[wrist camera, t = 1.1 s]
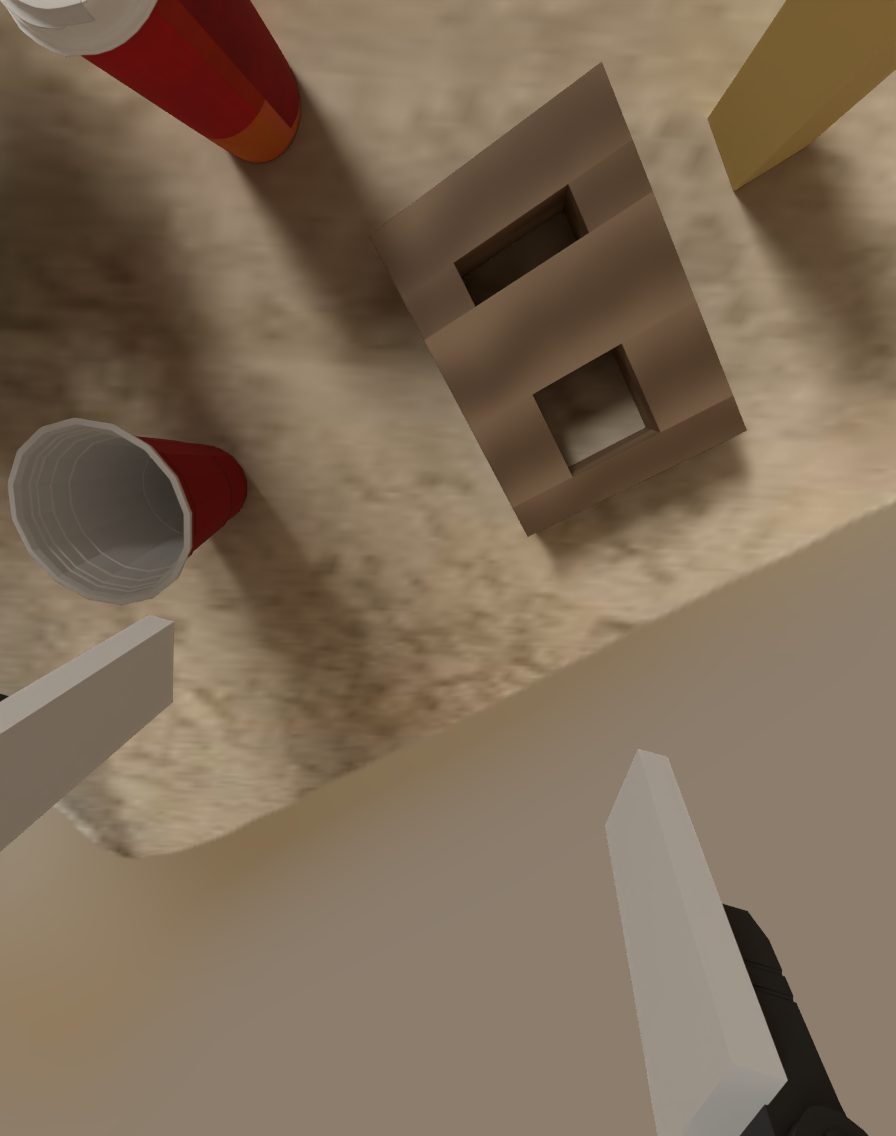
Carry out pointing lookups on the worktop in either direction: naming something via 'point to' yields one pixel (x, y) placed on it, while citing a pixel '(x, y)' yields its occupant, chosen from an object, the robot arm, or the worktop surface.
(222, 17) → the coffee cup
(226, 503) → the plastic cup
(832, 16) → the square peg
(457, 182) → the socket block
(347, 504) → the worktop surface
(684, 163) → the worktop surface
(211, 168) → the worktop surface
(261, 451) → the worktop surface
